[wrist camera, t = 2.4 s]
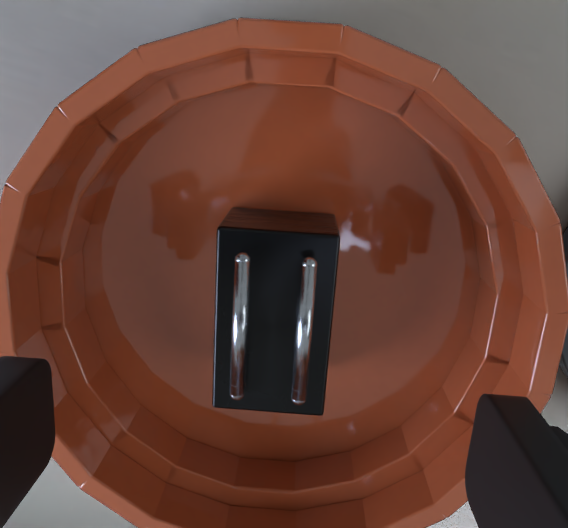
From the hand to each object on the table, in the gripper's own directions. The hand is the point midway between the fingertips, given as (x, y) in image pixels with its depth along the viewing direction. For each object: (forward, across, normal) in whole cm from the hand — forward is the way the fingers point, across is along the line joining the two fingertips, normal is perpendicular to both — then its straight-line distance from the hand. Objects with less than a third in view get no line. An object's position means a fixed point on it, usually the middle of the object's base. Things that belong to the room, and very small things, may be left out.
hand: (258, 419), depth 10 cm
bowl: (+7, 0, 0) cm, 7 cm away
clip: (+6, 0, 0) cm, 6 cm away
